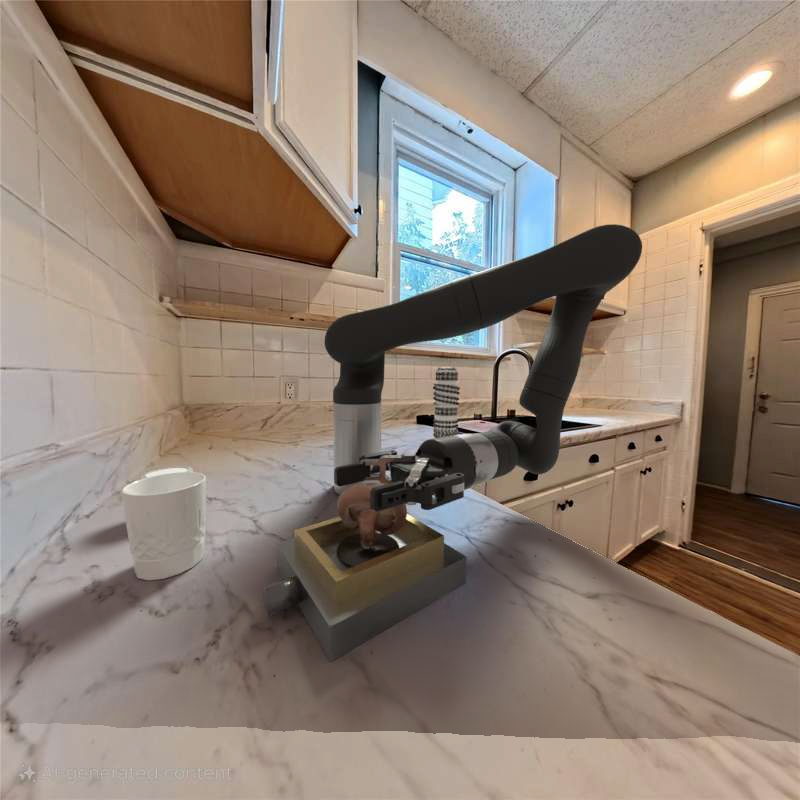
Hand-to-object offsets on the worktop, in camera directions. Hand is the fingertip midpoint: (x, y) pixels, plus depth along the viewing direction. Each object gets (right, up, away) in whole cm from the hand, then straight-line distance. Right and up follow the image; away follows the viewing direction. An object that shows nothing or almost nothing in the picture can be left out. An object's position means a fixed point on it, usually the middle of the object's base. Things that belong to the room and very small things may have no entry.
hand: (352, 487), depth 34 cm
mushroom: (+2, -8, +2) cm, 8 cm away
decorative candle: (+21, -5, +75) cm, 78 cm away
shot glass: (-32, -9, +17) cm, 37 cm away
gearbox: (0, -11, +2) cm, 11 cm away
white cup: (-23, -10, +4) cm, 25 cm away
